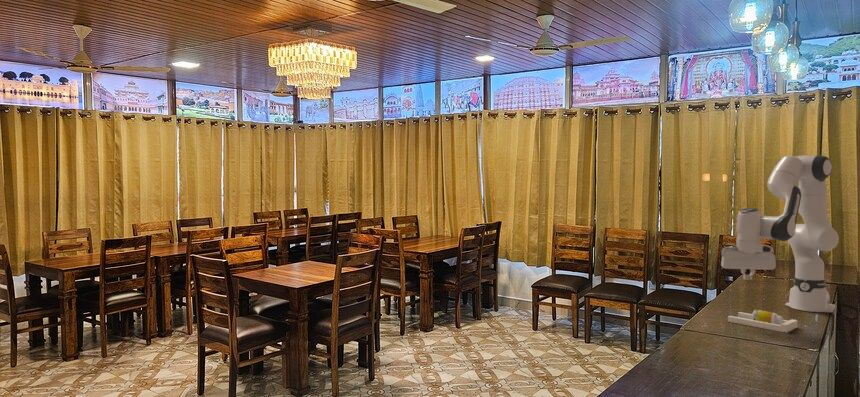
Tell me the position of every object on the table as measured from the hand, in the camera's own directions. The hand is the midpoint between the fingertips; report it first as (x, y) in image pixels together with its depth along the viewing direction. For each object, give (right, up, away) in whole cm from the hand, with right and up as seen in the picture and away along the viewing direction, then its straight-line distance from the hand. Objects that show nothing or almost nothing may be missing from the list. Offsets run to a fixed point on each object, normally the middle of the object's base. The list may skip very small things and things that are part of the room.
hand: (747, 279), depth 236 cm
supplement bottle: (+2, -15, -1) cm, 15 cm away
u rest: (+3, -18, -3) cm, 19 cm away
